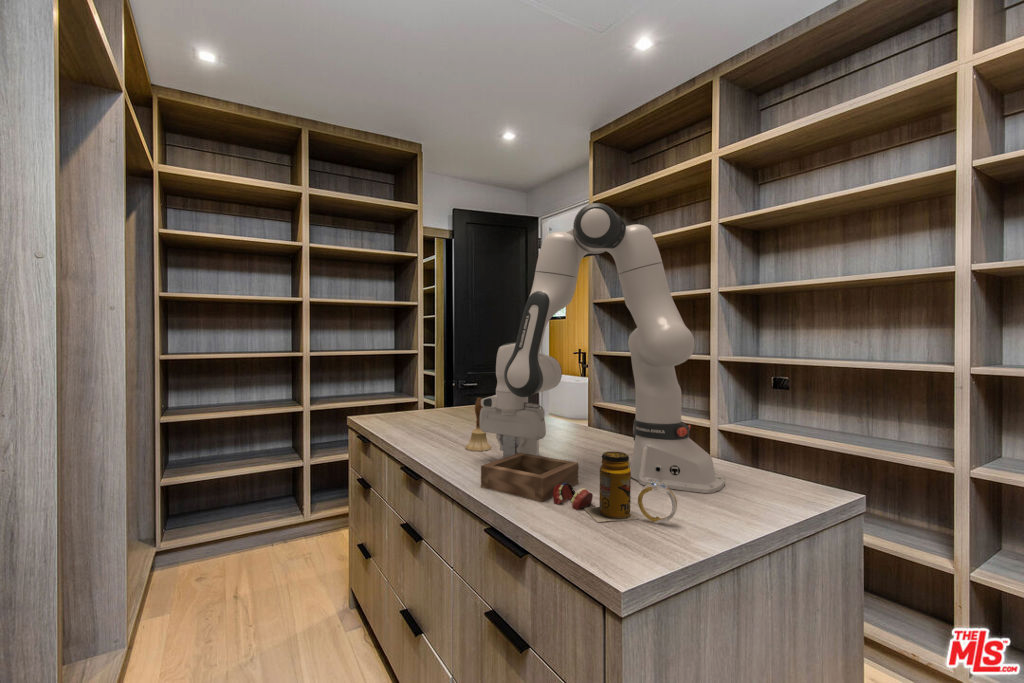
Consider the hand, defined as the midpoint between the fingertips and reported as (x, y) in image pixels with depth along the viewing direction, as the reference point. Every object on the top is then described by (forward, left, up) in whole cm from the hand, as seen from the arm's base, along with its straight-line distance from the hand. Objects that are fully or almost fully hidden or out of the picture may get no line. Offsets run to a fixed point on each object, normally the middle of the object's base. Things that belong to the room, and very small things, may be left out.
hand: (511, 451), depth 131 cm
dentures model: (-28, +17, -4) cm, 33 cm away
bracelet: (-46, +17, -4) cm, 49 cm away
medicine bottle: (+2, -10, -4) cm, 11 cm away
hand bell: (+20, -10, -4) cm, 23 cm away
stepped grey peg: (0, 0, -4) cm, 4 cm away
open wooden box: (-14, +12, -4) cm, 19 cm away
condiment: (-37, +18, -4) cm, 41 cm away
